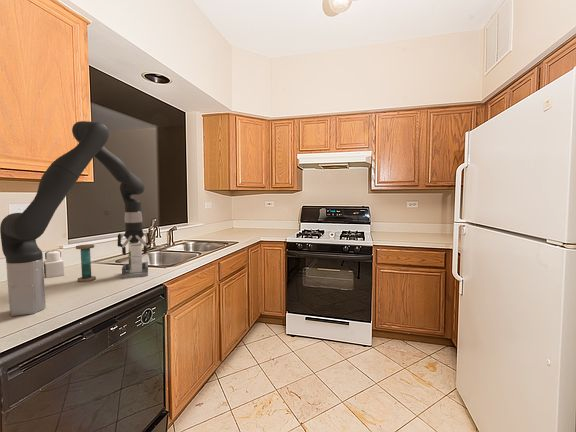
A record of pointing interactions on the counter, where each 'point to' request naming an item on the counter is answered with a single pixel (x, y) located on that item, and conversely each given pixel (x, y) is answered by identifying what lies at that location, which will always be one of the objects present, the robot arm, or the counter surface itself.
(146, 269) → the gray square tray
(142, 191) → the robot arm
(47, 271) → the medicine bottle
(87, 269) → the bobbin post
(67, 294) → the counter surface
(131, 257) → the syrup box
